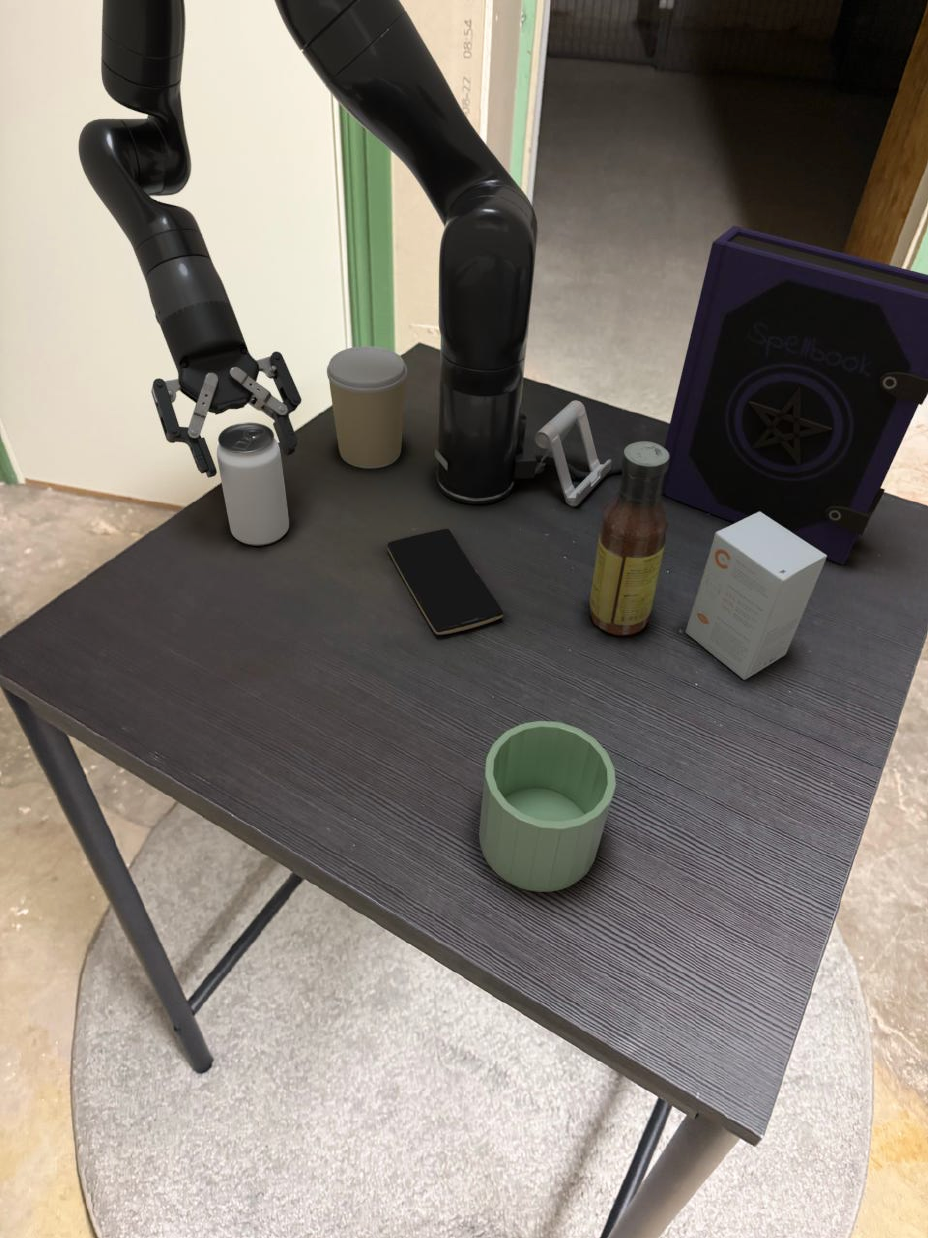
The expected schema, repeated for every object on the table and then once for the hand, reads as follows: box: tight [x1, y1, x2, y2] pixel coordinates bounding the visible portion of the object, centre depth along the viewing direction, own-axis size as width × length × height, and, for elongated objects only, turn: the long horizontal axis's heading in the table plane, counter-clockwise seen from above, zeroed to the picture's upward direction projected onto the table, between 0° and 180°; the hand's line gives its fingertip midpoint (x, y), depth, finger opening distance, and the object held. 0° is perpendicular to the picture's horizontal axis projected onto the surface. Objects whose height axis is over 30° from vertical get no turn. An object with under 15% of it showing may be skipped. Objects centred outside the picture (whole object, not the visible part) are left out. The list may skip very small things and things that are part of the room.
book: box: [662, 225, 928, 566], centre depth 92 cm, size 24×6×30 cm, turn 56°
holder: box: [478, 720, 617, 893], centre depth 67 cm, size 10×10×9 cm
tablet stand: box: [533, 400, 613, 508], centre depth 103 cm, size 9×8×8 cm
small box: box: [685, 512, 827, 681], centre depth 83 cm, size 8×6×13 cm
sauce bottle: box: [589, 440, 670, 637], centre depth 82 cm, size 7×6×20 cm
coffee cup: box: [326, 345, 408, 469], centre depth 105 cm, size 9×9×12 cm
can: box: [216, 422, 290, 547], centre depth 93 cm, size 6×6×12 cm
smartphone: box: [386, 528, 504, 636], centre depth 91 cm, size 7×1×15 cm
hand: (252, 464), depth 90 cm, fingers open, 8 cm apart
